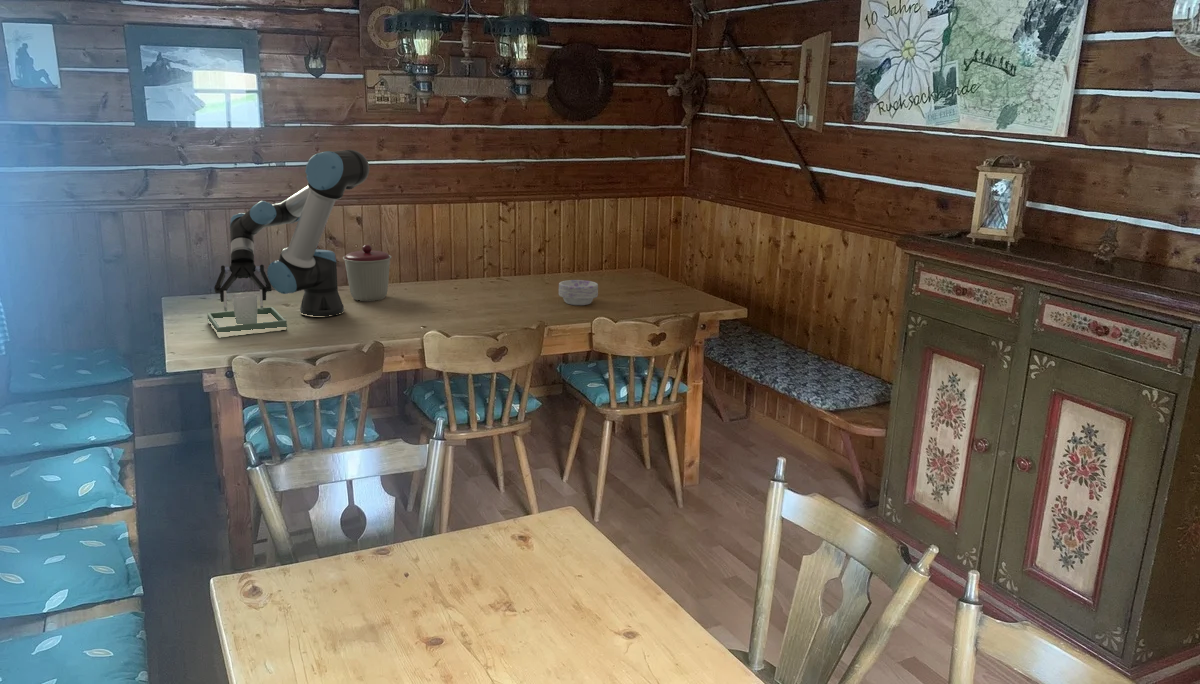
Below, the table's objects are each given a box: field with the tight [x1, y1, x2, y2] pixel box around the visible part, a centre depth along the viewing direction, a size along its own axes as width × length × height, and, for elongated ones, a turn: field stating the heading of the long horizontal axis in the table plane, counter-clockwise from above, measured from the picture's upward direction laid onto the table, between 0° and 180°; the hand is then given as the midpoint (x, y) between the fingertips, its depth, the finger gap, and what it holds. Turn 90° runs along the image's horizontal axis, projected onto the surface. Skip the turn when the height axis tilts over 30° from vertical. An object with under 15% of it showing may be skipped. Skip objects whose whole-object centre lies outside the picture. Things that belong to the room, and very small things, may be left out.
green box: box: [206, 306, 288, 332], centre depth 312 cm, size 22×22×4 cm
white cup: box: [231, 292, 258, 325], centre depth 310 cm, size 8×8×10 cm
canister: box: [342, 244, 392, 302], centre depth 352 cm, size 18×18×21 cm
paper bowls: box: [558, 279, 599, 306], centre depth 355 cm, size 15×15×8 cm
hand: (243, 308), depth 307 cm, fingers open, 11 cm apart
